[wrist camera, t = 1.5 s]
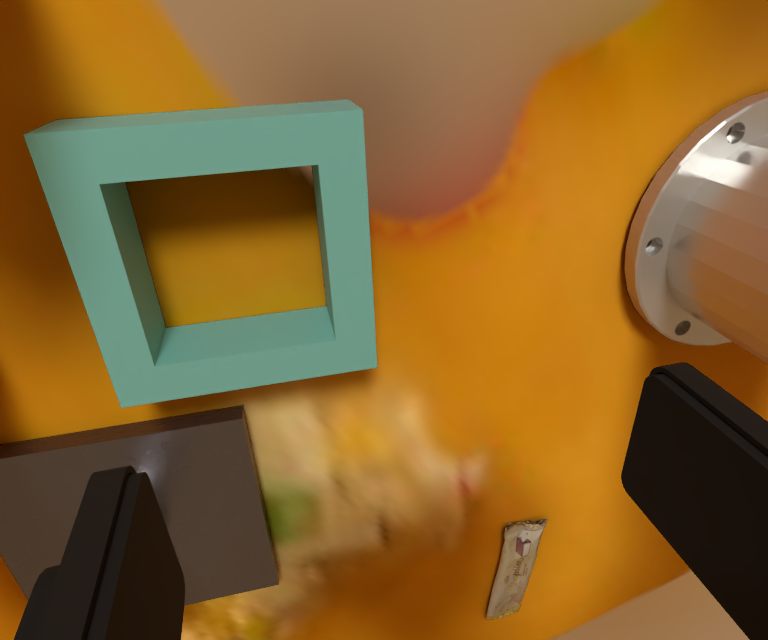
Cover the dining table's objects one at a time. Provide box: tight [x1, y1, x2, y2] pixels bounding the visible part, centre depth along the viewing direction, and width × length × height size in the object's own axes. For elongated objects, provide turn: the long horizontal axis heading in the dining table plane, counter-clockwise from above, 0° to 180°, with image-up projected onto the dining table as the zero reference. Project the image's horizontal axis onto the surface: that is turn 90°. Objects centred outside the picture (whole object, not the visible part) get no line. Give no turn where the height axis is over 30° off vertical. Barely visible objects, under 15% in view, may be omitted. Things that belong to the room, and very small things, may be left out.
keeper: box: [0, 405, 279, 605], centre depth 23 cm, size 12×12×9 cm
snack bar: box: [486, 519, 548, 620], centre depth 36 cm, size 10×2×3 cm
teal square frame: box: [23, 100, 377, 408], centre depth 20 cm, size 10×10×3 cm
